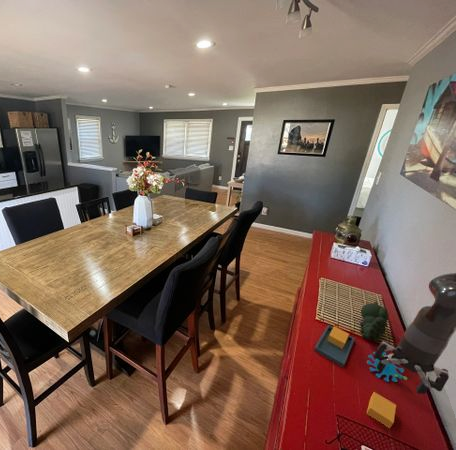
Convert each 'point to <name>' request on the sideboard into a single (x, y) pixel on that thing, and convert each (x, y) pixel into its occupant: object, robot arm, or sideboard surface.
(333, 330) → the pad
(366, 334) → the green broccoli
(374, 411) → the pad
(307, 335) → the sideboard surface
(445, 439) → the sideboard surface
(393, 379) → the blue virus toy
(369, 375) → the sideboard surface
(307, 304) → the sideboard surface
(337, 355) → the backing tray
